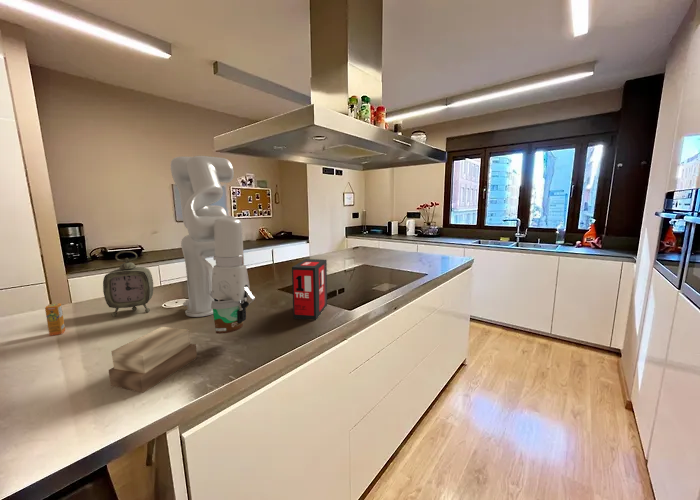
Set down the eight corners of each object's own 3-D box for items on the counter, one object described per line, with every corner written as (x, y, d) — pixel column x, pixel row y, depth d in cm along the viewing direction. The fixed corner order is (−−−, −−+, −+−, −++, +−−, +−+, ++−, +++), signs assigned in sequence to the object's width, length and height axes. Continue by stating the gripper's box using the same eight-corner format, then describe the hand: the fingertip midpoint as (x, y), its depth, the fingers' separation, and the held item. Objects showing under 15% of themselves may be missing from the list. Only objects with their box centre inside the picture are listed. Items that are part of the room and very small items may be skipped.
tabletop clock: (107, 318, 110) (98, 253, 106) (114, 310, 118) (106, 250, 114) (152, 313, 115) (145, 251, 112) (156, 305, 124) (150, 248, 120)
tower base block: (111, 387, 69) (108, 370, 68) (169, 354, 84) (167, 339, 84) (142, 394, 66) (140, 376, 66) (197, 359, 82) (195, 344, 81)
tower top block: (113, 368, 69) (111, 351, 68) (163, 341, 82) (161, 326, 82) (145, 373, 67) (142, 355, 66) (190, 344, 80) (188, 329, 80)
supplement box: (48, 336, 95) (43, 307, 93) (53, 332, 98) (48, 304, 96) (62, 334, 96) (57, 305, 95) (66, 330, 99) (61, 302, 98)
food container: (232, 338, 80) (230, 303, 79) (212, 335, 82) (210, 301, 80) (255, 320, 92) (254, 290, 91) (237, 318, 94) (236, 288, 92)
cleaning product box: (307, 304, 126) (306, 259, 123) (327, 305, 124) (326, 259, 121) (293, 318, 110) (291, 267, 107) (316, 320, 108) (315, 268, 105)
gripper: (195, 261, 82) (200, 321, 85) (247, 266, 78) (250, 329, 81) (214, 256, 89) (218, 312, 93) (263, 260, 85) (265, 319, 88)
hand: (233, 319), depth 87 cm, fingers closed on food container, 5 cm apart
